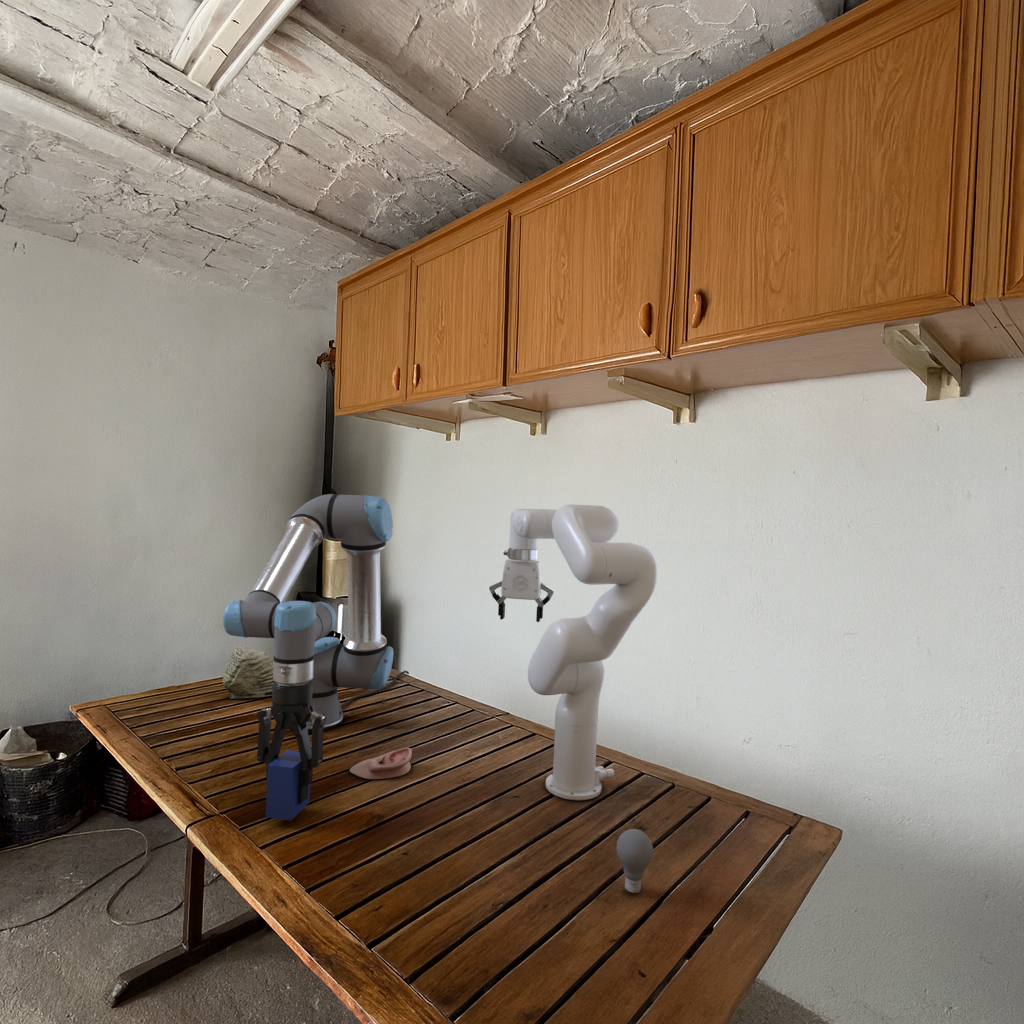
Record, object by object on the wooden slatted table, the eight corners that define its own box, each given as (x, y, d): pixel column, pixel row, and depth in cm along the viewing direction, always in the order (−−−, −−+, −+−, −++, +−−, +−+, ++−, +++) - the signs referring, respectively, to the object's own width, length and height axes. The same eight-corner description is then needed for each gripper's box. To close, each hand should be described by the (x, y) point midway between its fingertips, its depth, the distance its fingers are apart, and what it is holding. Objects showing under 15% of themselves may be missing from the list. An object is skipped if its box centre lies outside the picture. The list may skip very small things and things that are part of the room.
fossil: (218, 695, 195) (220, 647, 195) (278, 685, 208) (279, 640, 207) (228, 703, 189) (230, 653, 188) (289, 692, 201) (290, 645, 201)
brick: (265, 817, 121) (267, 764, 121) (285, 799, 129) (287, 749, 129) (290, 820, 121) (293, 767, 120) (309, 802, 128) (311, 752, 128)
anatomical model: (344, 758, 144) (365, 740, 155) (343, 775, 144) (365, 756, 155) (399, 766, 141) (417, 746, 152) (398, 783, 141) (416, 763, 152)
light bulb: (610, 879, 108) (613, 822, 108) (644, 879, 109) (647, 822, 109) (619, 902, 102) (622, 840, 102) (655, 901, 103) (658, 840, 103)
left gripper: (239, 682, 122) (234, 802, 122) (328, 690, 119) (323, 813, 120) (260, 672, 129) (256, 785, 130) (344, 680, 127) (340, 795, 127)
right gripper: (488, 554, 165) (485, 620, 165) (554, 558, 162) (551, 625, 163) (493, 552, 173) (490, 615, 173) (556, 556, 170) (553, 619, 170)
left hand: (288, 798), depth 125 cm, fingers closed on brick, 5 cm apart
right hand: (520, 619), depth 168 cm, fingers open, 9 cm apart
